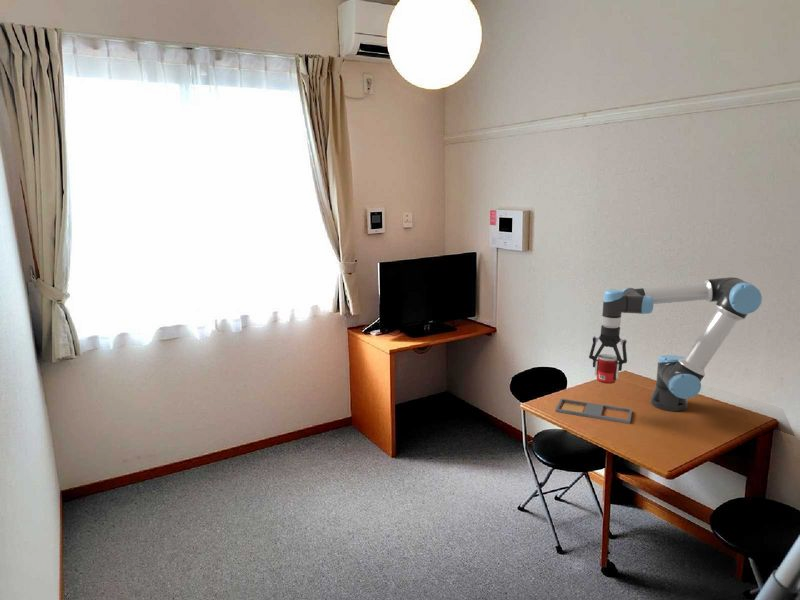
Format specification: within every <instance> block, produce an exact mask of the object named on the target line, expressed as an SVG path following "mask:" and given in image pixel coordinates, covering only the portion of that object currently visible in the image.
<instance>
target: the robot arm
mask: <svg viewBox="0 0 800 600" xmlns="http://www.w3.org/2000/svg"><path fill="white" fill-rule="evenodd" d="M603 294H604V295H603V299H602V315H601V326H600V335H599V336H596V335H594V336H593V337H592V345H591V348H590V352H589V356H588V358H589V360H590V359H591V360H592V367H593V368H594V376H597V366H598V356H599V355H601V354H602V353H601V352H602V351H603V349H604V348H605V347H607V348H609V347H610V348H613V351H614V353H615V356H616V357H617V359H618V363H617V371H616V379H618V378H619V372H622V369H623V365H624V364H627V362H628V354H627V346H626V345H627V342H628V341H627V339H622V338H621V337H620V332H621V327H620V326H621V321H622V320H621V318H622V314H638V315H639V314H642V315H646V314H647V315H649V314H651V313H652V312H653V310H654V305H659V304H660V305H661V304H670V303H671V304H672V303H683V302H694V301H695V302H696V301H706V302H707V303H711V302H716V304H715V308H716V311H715V312H714V313H713V315H712V316H711V318H710V319H709V321H708V322H707V324H706V325H705V327H704V328H703V330H702V331H701V333H700V334H699V335H698V337H697V339H695V341H694V343H693V345H692V346H691V347H690V349H689V350H688V351H687V352H686V355H685V356H681V355H676V354H675V355H674V354H671V355H670V354H663V355H660V356H659V357H658V358H657V359H658V360H657V370H656V372H657V373H656V383H655V387H654V390H653V391H652V394H651V396H650V404H651V405H652V406H654V407H655V408H657V409H660V410H665V411H668V412H669V411H670V412H682V411H685V410H687V408H688V399H692V398H694V397H695V396H697V395H698V394H699V393H700V392H701V390H702V383H701V381H702V380H703V378H704V377H705V376H706V372H705V368H706V367H707V365H708V364H709V363H710V361H711V360H712V359H713V357H714V356H715V355H716V353H717V351H718V350H719V349H720V347H721V345H722V344H723V343H724V342H725V340H726V339H727V337H728V336H729V334H730V333H731V331H732V330H733V328H734V327H735V326H736V324H737V322H738V321H743V320H745V318H747V316H748V315H749V314H751V313H754V312H756V311H757V310H758V309H759V307H761V305H762V301H763V297H762V293H761V292H760V289H759V288H758V287H757V286H755V285H754V284H752V283H749V282H747V281H745V280H744V279H741V278H738V277H732V276H731V277H730V276H729V277H728V276H727V277H720V278H711V279H705V280H704V281H703V282H695V283H683V284H673V285H663V286H651V287H640V288H633V287H625V288H624V289H622V290H621V289H616V288H615V289H613V288H611V289H606V290H605V291H604V293H603ZM598 341H600V343H601V344H600V347H599V348H598V350H597V351H596V353H595V354H594V351H595V348H596V345H597V342H598ZM619 343H620V345H622V346H621V348H622V356H621V353H620V351H619V348H618V344H619Z"/></svg>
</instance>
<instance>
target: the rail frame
mask: <svg viewBox="0 0 800 600" xmlns="http://www.w3.org/2000/svg"><path fill="white" fill-rule="evenodd" d="M562 404H563V405H562ZM561 406H562V407H561ZM604 409H607V410H613V411H620V412H627V413H628V417H627V419H625V418H619V417H613V416H606V415H602V414H603V411H604ZM583 411H584V412H583ZM555 413H562V414H567V415H573V416H574V415H575V416H579V415H580V416H581V417H585V418H586V417H588V418H593V419H599V420H604V421H610V422H611V421H612V422H617V423H623V424H629V425H630V424H631V420H632V414H633V408H627V407H622V406H621V407H620V406H612V405H606V404H601V403H600V404H599V403H593V402H586V401H579V400H574V399H566V398H560V400H559V402H558V404H557V405H556V408H555Z"/></svg>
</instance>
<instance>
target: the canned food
mask: <svg viewBox="0 0 800 600" xmlns="http://www.w3.org/2000/svg"><path fill="white" fill-rule="evenodd" d="M597 359H598V366H597V375H596V380H597V381H598V382H599V383H602V384H609V385H611V384H615V383H616V381H617V378H616V371H617V363H618V362H619V361H618V359H617V356H616V355H614V354H607V353H606V354H605V353H603V354H602V353H600V354H599V356H598V357H597Z"/></svg>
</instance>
